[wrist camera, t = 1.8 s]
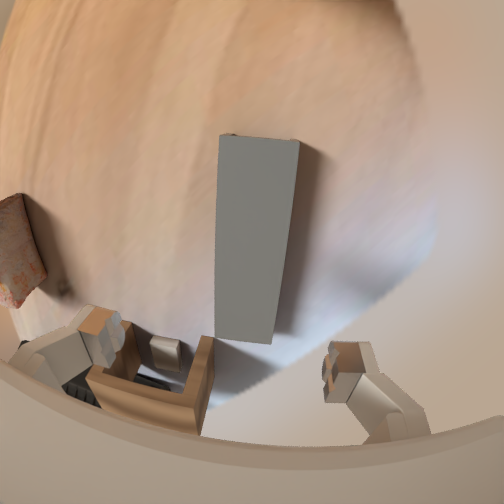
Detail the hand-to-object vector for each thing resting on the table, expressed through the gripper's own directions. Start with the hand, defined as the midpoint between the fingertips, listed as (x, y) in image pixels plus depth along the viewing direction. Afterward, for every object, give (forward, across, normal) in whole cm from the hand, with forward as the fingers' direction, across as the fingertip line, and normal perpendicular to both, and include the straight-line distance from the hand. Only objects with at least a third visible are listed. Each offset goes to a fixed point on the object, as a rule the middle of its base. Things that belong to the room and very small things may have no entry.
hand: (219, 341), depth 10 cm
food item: (+17, +32, +7) cm, 37 cm away
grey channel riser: (+17, 0, +4) cm, 17 cm away
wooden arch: (+17, +10, +21) cm, 29 cm away
